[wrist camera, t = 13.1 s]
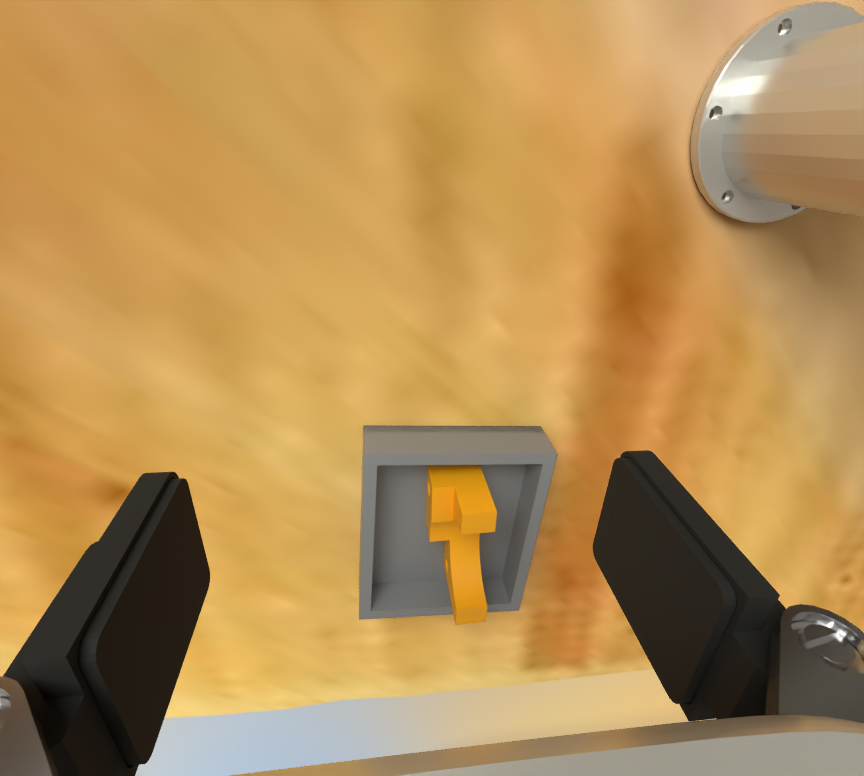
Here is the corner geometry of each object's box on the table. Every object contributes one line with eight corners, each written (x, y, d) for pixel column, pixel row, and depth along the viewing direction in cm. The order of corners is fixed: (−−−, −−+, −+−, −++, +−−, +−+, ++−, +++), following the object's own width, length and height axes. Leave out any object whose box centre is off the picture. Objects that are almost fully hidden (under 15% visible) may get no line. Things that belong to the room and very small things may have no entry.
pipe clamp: (427, 462, 41) (438, 516, 35) (478, 459, 41) (497, 511, 36) (425, 566, 46) (434, 627, 41) (470, 562, 47) (485, 621, 41)
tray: (540, 426, 42) (557, 453, 38) (507, 576, 50) (518, 610, 46) (363, 425, 40) (363, 454, 36) (359, 583, 48) (359, 619, 44)
